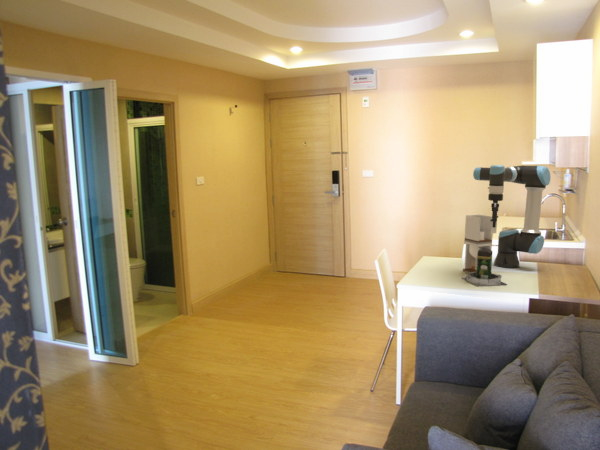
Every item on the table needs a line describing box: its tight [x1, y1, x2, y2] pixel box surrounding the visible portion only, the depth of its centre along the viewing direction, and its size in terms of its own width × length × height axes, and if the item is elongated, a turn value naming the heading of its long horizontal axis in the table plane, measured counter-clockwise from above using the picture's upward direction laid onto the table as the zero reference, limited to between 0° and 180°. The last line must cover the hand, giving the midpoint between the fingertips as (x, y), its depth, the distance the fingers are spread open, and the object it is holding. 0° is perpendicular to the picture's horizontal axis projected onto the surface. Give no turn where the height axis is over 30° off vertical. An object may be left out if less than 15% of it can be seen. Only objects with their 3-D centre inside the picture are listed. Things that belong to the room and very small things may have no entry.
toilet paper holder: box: [462, 214, 493, 274], centre depth 303 cm, size 11×11×35 cm
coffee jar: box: [476, 248, 493, 279], centre depth 284 cm, size 10×8×19 cm
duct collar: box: [461, 272, 508, 287], centre depth 285 cm, size 21×18×4 cm
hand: (493, 231), depth 281 cm, fingers open, 13 cm apart
